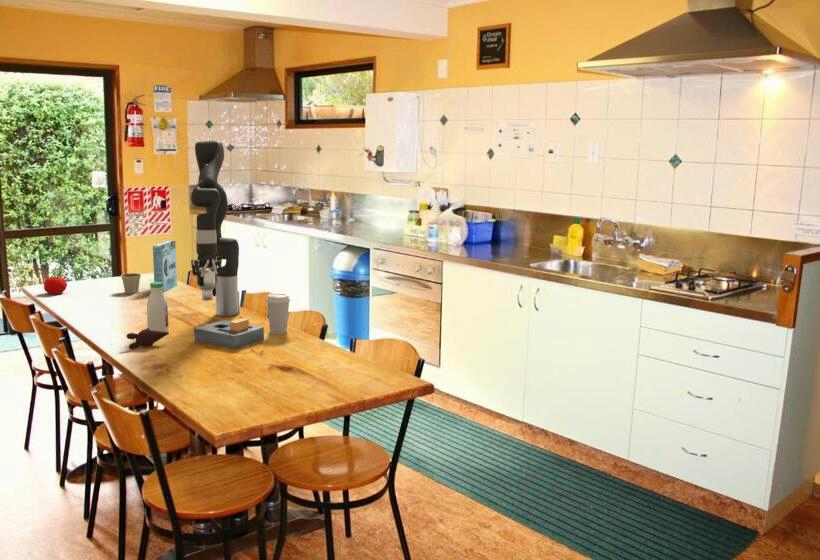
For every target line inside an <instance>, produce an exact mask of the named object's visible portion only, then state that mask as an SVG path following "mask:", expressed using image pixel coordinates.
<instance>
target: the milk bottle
mask: <svg viewBox="0 0 820 560" xmlns="http://www.w3.org/2000/svg"><path fill="white" fill-rule="evenodd" d="M149 286H150V294H149V295H148V299H147V303H146V320H147V328H149V329H150V330H152V331H161V332H169V307H168V299H167V298H166V296H165V294H164V292H163V291H162V288H163V283H162V282H154V281H152V282H150V283H149Z"/></svg>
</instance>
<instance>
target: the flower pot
mask: <svg viewBox="0 0 820 560" xmlns="http://www.w3.org/2000/svg"><path fill="white" fill-rule="evenodd" d="M141 276H142V274H141V273H136V272H135V273H134V272H131V273H123V274H121V275H120V277H121V280H122V284H123V290H124V294H128V295H129V294H138V293H139V289H140V280H141Z"/></svg>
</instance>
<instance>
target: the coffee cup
mask: <svg viewBox="0 0 820 560" xmlns="http://www.w3.org/2000/svg"><path fill="white" fill-rule="evenodd" d="M265 302H266V304H267V315H268V325H269V326H268V327H269V333H270V334H272V335H285V334H286V333H287V331H288V330H287V329H288V319H289V310H290V309H289V307H290V302H291V298H290V297H289V294H287V293H279V292H277V293H269V294H268V295H267V297H266V298H265Z"/></svg>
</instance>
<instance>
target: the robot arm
mask: <svg viewBox="0 0 820 560" xmlns="http://www.w3.org/2000/svg"><path fill="white" fill-rule="evenodd" d="M194 154H195V157H196V158H195V159H196V163H197V166H198V167H197V168H198V171H199V172H198V173H199V174H198V175H199V176H198V181H197V183H196V185H195V186H194V188H193V189H192V192H191V194H190V195H191V196H190V201H191V204H192V205H193V206H194V207H197V208H205V212H202V213H198V214H197V215H196V234H195V239H196V241H195V246H196V247H195V248H196V251H195V252H196V255H197V258H196V259H191V260H190V263H191V264H190V265H191V271H192V276H196V277H197V286H198V287H199V286H200V287H203V286H204V277H203V275H204V272H205V271H206V270H213V271H215V307H216V308H215V309H216V310H215V311H216V312H215V313H216V316H221V317H231V316H237V315H238V314H240V312H241V311H240V291H238V290H239V289H238V285H239V284H238V272H239V271H238V270H239V261H240V260H239V255H240V246H239V242H238V240H237V239H235V238H231V237H230V238H229V237H223V235H222V225H223V222H224V220H225V218H226V215H227V213H228V211H229V202H228V196H227V193H226V191H225V189H224V188H223V187H222V185H220V183H219V182H218V177H219V175H220V174H219V173H220V171H221V169H222V166H223V163H224V160H225V148H224V146H223V143H222V141H220V140H217V139H216V140H203V141H197V142H196V143H195V146H194ZM223 260H225V264H224V265H223V266H222V262H223ZM200 272H201V273H200Z"/></svg>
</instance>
